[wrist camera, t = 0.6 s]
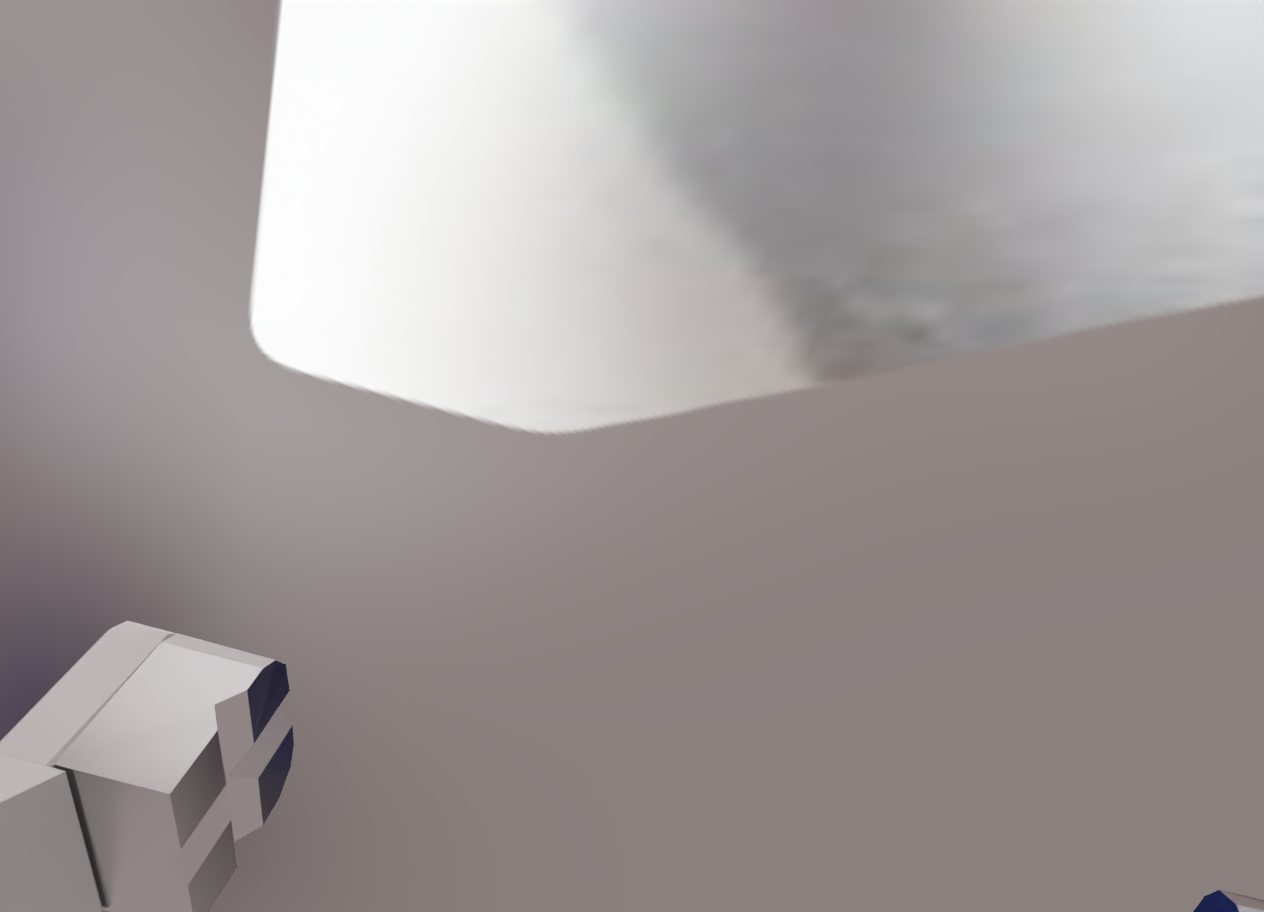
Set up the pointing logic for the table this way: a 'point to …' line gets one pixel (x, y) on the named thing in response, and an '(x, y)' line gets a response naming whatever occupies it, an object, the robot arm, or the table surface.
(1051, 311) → the table surface
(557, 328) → the table surface
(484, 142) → the table surface
